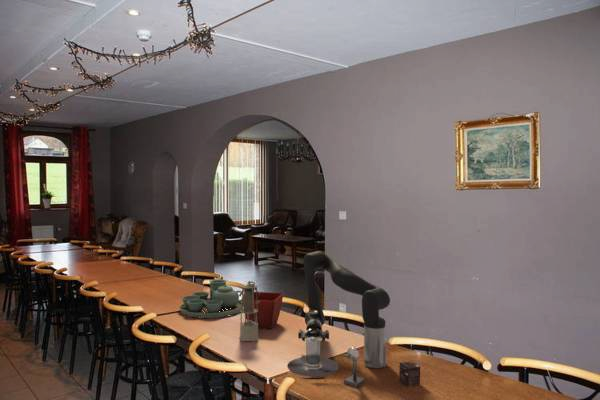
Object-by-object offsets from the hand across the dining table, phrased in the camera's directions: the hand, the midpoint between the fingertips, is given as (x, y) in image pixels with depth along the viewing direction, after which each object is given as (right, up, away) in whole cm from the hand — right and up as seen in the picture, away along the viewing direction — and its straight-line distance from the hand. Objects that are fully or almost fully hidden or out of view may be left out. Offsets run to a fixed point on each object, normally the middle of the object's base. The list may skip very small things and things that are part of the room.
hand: (313, 339), depth 205 cm
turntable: (-1, -10, -9) cm, 14 cm away
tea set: (-62, -8, +86) cm, 107 cm away
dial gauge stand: (+15, -10, -22) cm, 29 cm away
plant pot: (-27, -9, +54) cm, 61 cm away
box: (+38, -11, -22) cm, 45 cm away
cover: (-1, -8, -9) cm, 12 cm away
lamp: (-32, -9, +29) cm, 44 cm away
